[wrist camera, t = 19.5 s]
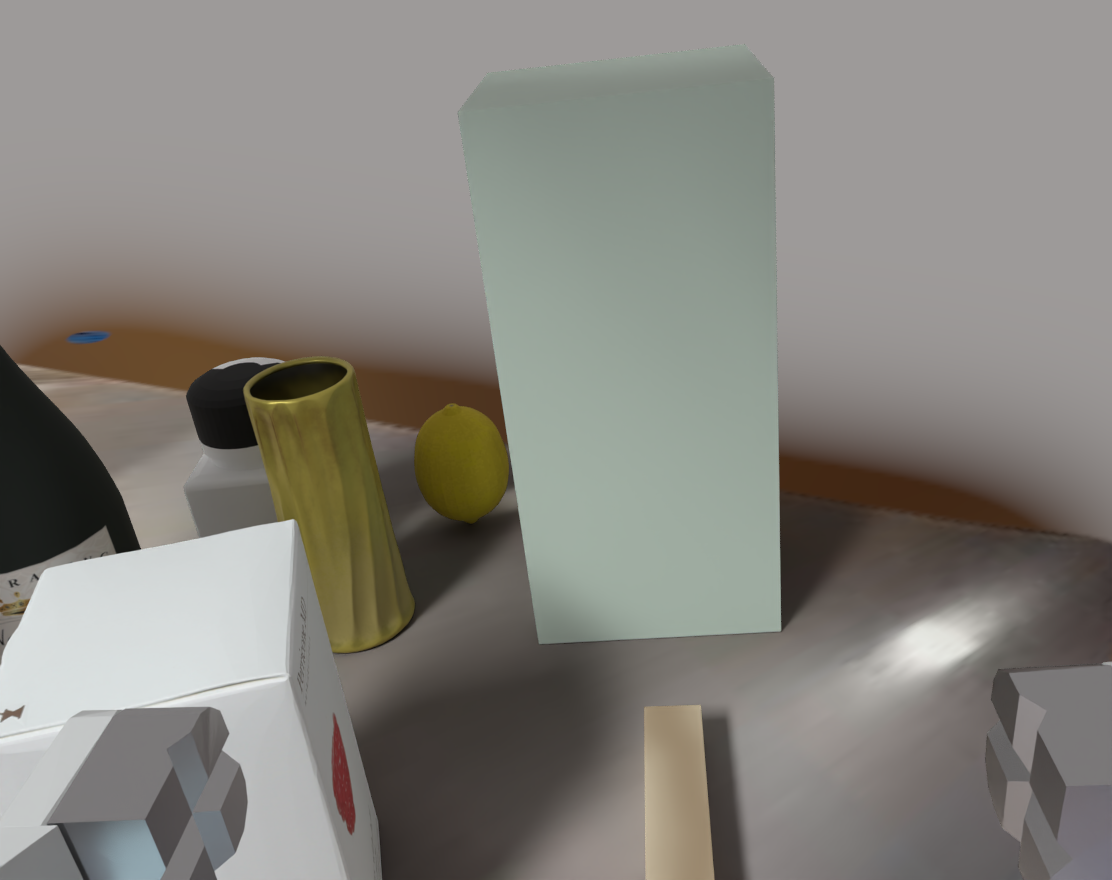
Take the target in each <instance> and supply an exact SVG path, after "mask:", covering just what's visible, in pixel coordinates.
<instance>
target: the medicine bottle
mask: <svg viewBox="0 0 1112 880" xmlns="http://www.w3.org/2000/svg"><path fill="white" fill-rule="evenodd" d="M283 362H284V361H281V360H278V359H270V358H247V359H241V360H236V361H232V362H228V363H225V364H222V365H220V366H217V367H215V368H213V369H211V370H209V371H208V372H206V373H205V374H203V375H202V376H200V377H199V378H197V379H196V380H195V381H194V382H193V383H192V384H191V386H190V388H189V390H188V392H187V395H186V398H187V402H188V405H189V408H190V411H191V415H192V418H193V421H194V424H195V427H196V431H197V434H198V437H199V440H200V443H201V447H202V450H203V452H204V454H203V456H202V457H201V459H200V460H199V462H198V464H197V465H196V467H195V469H194V470H193V472H192V474H191V475H190V477H189V478H188V480H187V482H186V483H185V485H184V493H185V496H186V499H187V502H188V505H189V508H190V511H191V514H192V518H193V521H194V524H195V527H196V530H197V533H198V536H199V538H203V537H208V536H212V535H217V534H221V533H225V532H229V531H234V530H239V529H244V528H248V527H253V526H258V525H264V524H270V523H276V522H278V521H277V516H276V512H275V507H274V503H273V499H272V494H271V490H270V486H269V482H268V478H267V475H266V471H265V468H264V464H263V460H262V457H261V453H260V450H259V446H258V443H257V439H256V436H255V433H254V430H253V426H252V423H251V419H250V416H249V412H248V409H247V405H246V402H245V397H244V386H245V385H246V383H247V382H248V381H249V380H250V379H251V378H253V377H254V376H255V375H257V374H258V373H260V372H262V371H264V370H266V369H268V368H270V367H272V366H275V365H277V364H280V363H283Z"/></svg>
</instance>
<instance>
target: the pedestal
mask: <svg viewBox="0 0 1112 880" xmlns="http://www.w3.org/2000/svg"><path fill="white" fill-rule="evenodd" d="M458 117H459V124H460V131H461V137H462V144H463V150H464V156H465V163H466V170H467V176H468V183H469V189H470V196H471V202H472V209H473V216H474V222H475V229H476V235H477V241H478V248H479V254H480V261H481V268H482V275H483V281H484V288H485V294H486V301H487V307H488V314H489V320H490V326H491V333H492V340H493V347H494V353H495V358H496V359H495V360H496V366H497V373H498V379H499V385H500V392H501V399H502V405H503V412H504V419H505V425H506V432H507V437H508V445H509V451H510V458H511V464H512V471H513V477H514V484H515V491H516V497H517V504H518V510H519V517H520V523H521V530H522V536H523V543H524V549H525V556H526V563H527V569H528V576H529V582H530V589H531V595H532V602H533V608H534V615H535V621H536V628H537V635H538V641H539V644H553V643H572V642H590V641H609V640H628V639H647V638H665V637H684V636H703V635H722V634H741V633H759V632H778V631H781V582H780V505H779V430H778V429H779V427H778V354H777V353H778V352H777V351H778V350H777V275H776V272H777V271H776V202H775V201H776V200H775V199H776V197H775V194H776V193H775V122H774V121H775V117H774V78H773V76H772V75H771V74H770V73H769V72H768V71H767V69H766V68H765V67H764V66H763V65H762V64H761V62H760V61H759V60H758V59H757V58H756V56H755V55H754V54H753V53H752V52H751V51H750V49H749V48H748V47H747V46H746V45H745V44H743V45H733V46H725V47H716V48H707V49H698V50H690V51H681V52H671V53H662V54H653V55H645V56H635V57H626V58H617V59H609V60H600V61H591V62H581V63H573V64H564V65H555V66H546V67H537V68H528V69H519V70H510V71H501V72H492V73H487V75H486V76H485V77H484V78H483V80H482V81H481V82H480V84H479V85H478V86H477V88H476V89H475V90H474V92H473V93H472V94H471V96H470V97H469V98H468V99H467V101H466V102H465V104H464V105H463V106H462V107H461V109H460V110H459V111H458Z"/></svg>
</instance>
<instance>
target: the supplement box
mask: <svg viewBox="0 0 1112 880" xmlns="http://www.w3.org/2000/svg"><path fill="white" fill-rule="evenodd" d="M172 707H212V708H215V709H217V710H220V711H221V714H222V716H223V719H224V721H225V724H226V726H227V729H228V731H229V736H228V738H227V740H226V742H225V744H224V747H223V749H222V750H223V751H224V752H225V753H226V754H228V755H229V756H230V757H231V758H233V759H234V760H235V761H237V762H238V763H239V764H240V766H241V769H242V772H243V775H244V778H245V781H246V789H247V799H248V805H247V813H246V821H245V828H244V832H243V835H242V837H241V840H240V843H239V845H238V848H237V851H236V853H235V854H234V855H233V856H232V857H231V858H229V859H228V860H227V861H226V862H225V863H224V864H222V865H221V866H220V867H219V868H218V869H217V870H215V871H214V872H215V875H216V877H217V880H382V869H381V854H380V839H379V826H378V819H377V816H376V812H375V809H374V805H373V802H372V798H371V794H370V790H369V786H368V782H367V779H366V775H365V771H364V768H363V764H362V760H361V756H360V753H359V749H358V745H357V741H356V738H355V734H354V730H353V726H352V723H351V719H350V715H349V711H348V708H347V704H346V700H345V697H344V693H343V689H342V686H341V682H340V678H339V675H338V671H337V668H336V664H335V660H334V657H333V653H332V649H331V645H330V642H329V638H328V634H327V630H326V627H325V623H324V620H323V616H322V612H321V609H320V605H319V601H318V598H317V594H316V590H315V587H314V583H313V579H312V576H311V572H310V568H309V564H308V560H307V557H306V553H305V549H304V545H303V542H302V538H301V534H300V530H299V526H298V524H297V521H296V520H294V519H292V520H287V521H282V522H276V523H270V524H264V525H258V526H253V527H248V528H244V529H239V530H234V531H229V532H225V533H221V534H217V535H212V536H208V537H203V538H198V539H193V540H188V541H183V542H178V543H174V544H169V545H163V546H158V547H152V548H147V549H142V550H136V551H131V552H125V553H120V554H114V555H109V556H104V557H99V558H93V559H88V560H83V561H78V562H73V563H69V564H64V565H60V566H55V567H51V568H47V569H46V570H44V572H43V573H42V574H41V576H40V578H39V581H38V583H37V585H36V588H35V590H34V592H33V595H32V597H31V599H30V601H29V604H28V606H27V608H26V610H25V613H24V615H23V617H22V619H21V622H20V624H19V626H18V628H17V629H16V631H15V632H14V633H13V635H12V636H11V638H10V639H9V641H8V643H7V645H6V647H5V649H4V652H3V655H2V662H1V666H0V819H1V817H2V816H3V814H4V813H5V811H6V810H7V808H8V807H9V805H10V804H11V803H12V801H13V800H14V798H15V797H16V795H17V794H18V792H19V791H20V789H21V788H22V786H23V785H24V783H25V782H26V781H27V779H28V778H29V776H30V775H31V773H32V772H33V770H34V769H35V767H36V766H37V764H38V763H39V761H40V760H41V759H42V757H43V756H44V754H45V753H46V751H47V750H48V748H49V747H50V745H51V744H52V742H53V741H54V739H55V738H56V737H57V735H58V734H59V732H60V731H61V729H62V728H63V726H64V725H65V723H66V722H67V720H68V719H69V718H70V717H72V716H74V715H75V714H77V713H79V712H81V711H82V710H124V709H128V708H172Z"/></svg>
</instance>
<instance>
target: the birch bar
mask: <svg viewBox="0 0 1112 880" xmlns="http://www.w3.org/2000/svg"><path fill="white" fill-rule="evenodd" d="M644 744H645V863H646V880H714V867H713V855H712V842H711V829H710V816H709V804H708V791H707V778H706V765H705V753H704V740H703V727H702V714H701V705H684V706H654V707H644Z"/></svg>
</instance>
